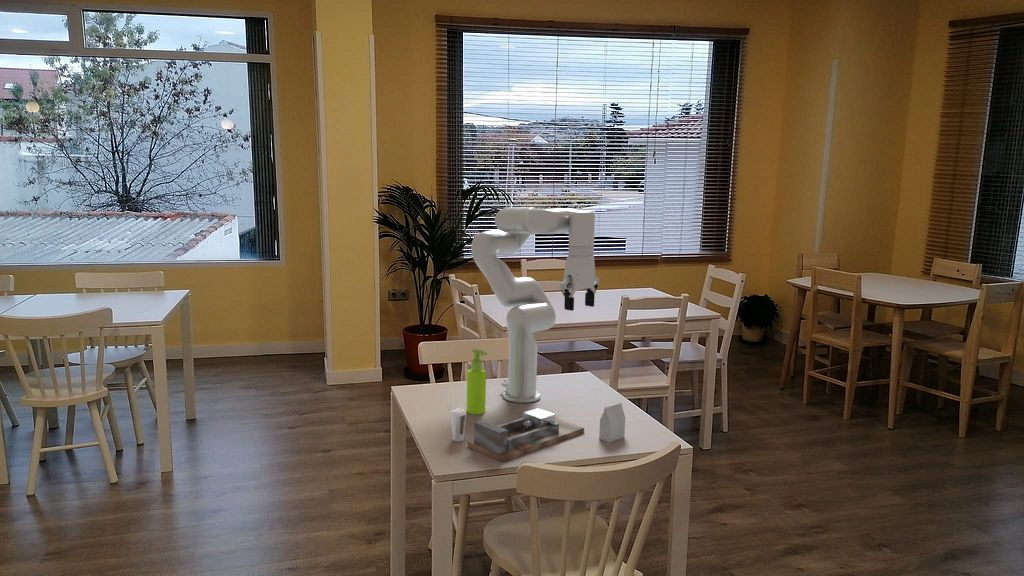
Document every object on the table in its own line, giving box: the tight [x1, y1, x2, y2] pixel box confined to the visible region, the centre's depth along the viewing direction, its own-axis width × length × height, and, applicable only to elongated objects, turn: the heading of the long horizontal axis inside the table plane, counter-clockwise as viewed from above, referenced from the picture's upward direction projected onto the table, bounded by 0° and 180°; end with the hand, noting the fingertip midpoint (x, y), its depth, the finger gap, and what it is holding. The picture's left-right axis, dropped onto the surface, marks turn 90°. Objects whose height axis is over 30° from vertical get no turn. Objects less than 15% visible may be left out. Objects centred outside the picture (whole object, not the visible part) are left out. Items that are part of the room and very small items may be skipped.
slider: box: [521, 407, 557, 431], centre depth 211 cm, size 9×10×5 cm
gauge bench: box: [467, 417, 585, 463], centre depth 210 cm, size 33×14×8 cm, turn 134°
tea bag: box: [598, 402, 626, 444], centre depth 213 cm, size 4×7×10 cm, turn 131°
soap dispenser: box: [466, 348, 488, 415], centre depth 231 cm, size 6×7×20 cm
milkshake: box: [447, 406, 468, 443], centre depth 208 cm, size 4×5×10 cm
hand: (579, 307), depth 224 cm, fingers open, 9 cm apart
